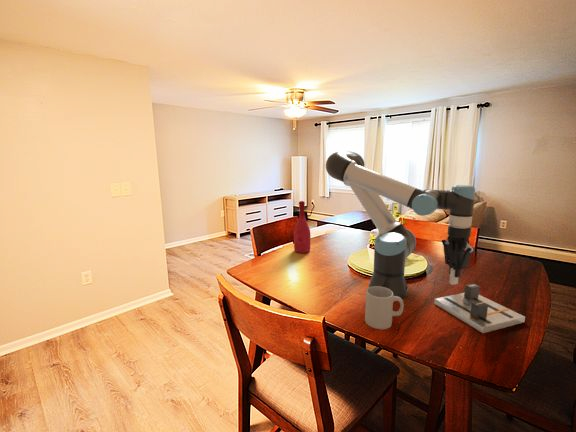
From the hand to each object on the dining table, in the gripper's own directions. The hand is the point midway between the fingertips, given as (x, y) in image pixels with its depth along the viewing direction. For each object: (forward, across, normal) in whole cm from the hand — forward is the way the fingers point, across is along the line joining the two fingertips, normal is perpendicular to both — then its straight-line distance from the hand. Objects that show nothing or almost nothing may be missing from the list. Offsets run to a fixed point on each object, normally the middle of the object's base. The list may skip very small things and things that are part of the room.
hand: (453, 283), depth 111 cm
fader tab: (+2, -8, 0) cm, 8 cm away
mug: (+4, -8, +38) cm, 40 cm away
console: (+4, -14, +4) cm, 15 cm away
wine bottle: (+4, +70, +38) cm, 80 cm away
